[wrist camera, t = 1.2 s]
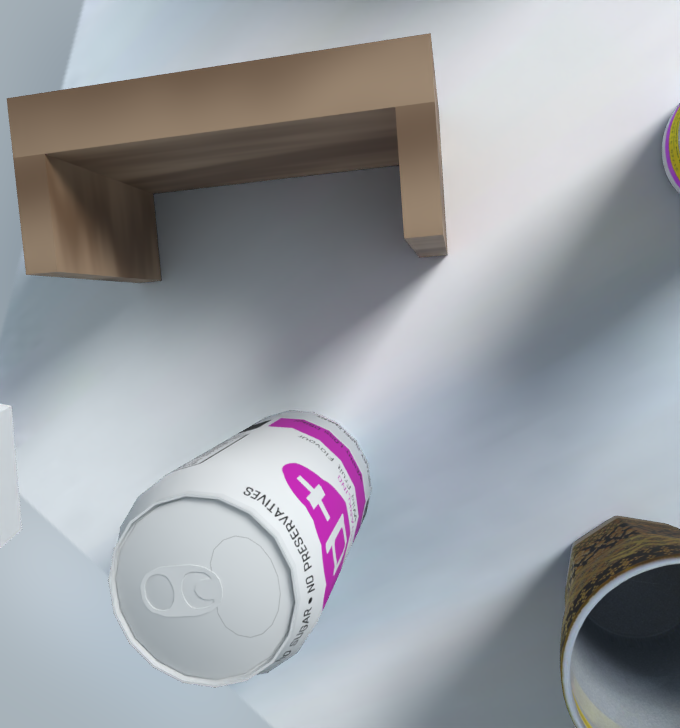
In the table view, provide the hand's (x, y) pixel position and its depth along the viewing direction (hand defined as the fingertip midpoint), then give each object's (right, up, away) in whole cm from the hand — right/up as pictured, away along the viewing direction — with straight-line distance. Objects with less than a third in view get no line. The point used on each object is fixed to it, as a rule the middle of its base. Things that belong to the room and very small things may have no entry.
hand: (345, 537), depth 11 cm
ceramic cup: (+17, -8, +23) cm, 30 cm away
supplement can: (-2, -4, +26) cm, 26 cm away
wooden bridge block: (-3, +12, +25) cm, 28 cm away
